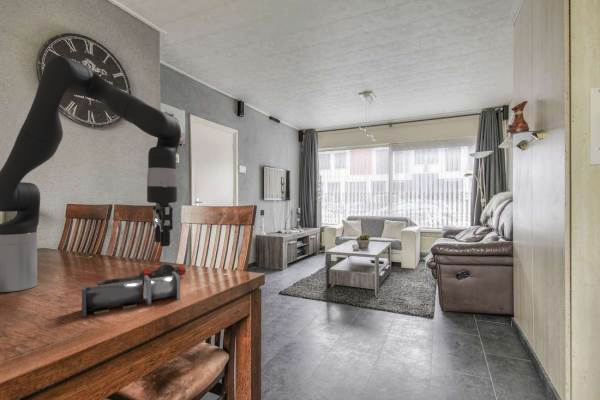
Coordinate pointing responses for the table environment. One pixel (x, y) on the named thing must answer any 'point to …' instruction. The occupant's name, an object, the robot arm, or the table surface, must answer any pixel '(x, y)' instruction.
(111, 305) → the pipe stub
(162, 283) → the coupling
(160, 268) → the valve
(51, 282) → the table surface
